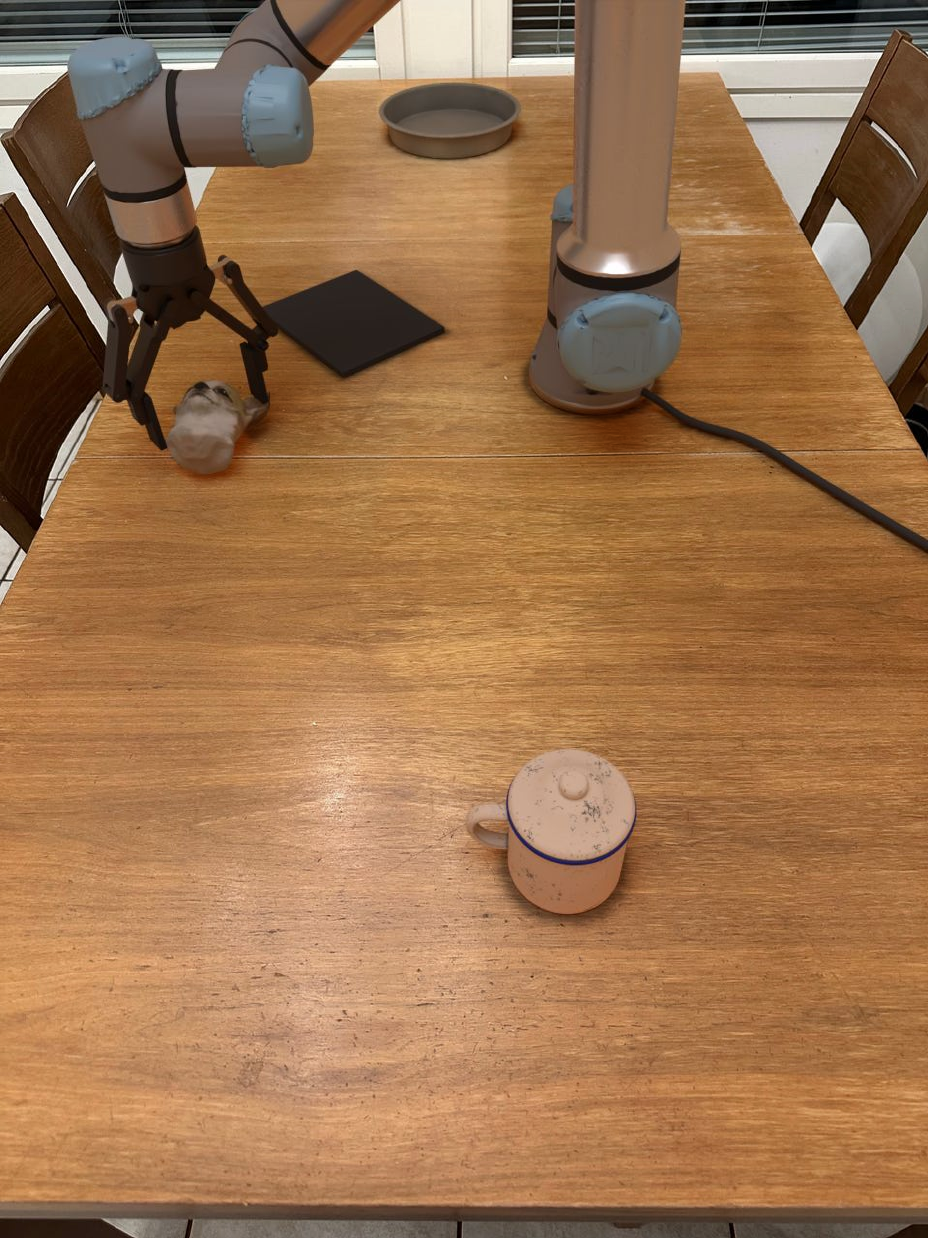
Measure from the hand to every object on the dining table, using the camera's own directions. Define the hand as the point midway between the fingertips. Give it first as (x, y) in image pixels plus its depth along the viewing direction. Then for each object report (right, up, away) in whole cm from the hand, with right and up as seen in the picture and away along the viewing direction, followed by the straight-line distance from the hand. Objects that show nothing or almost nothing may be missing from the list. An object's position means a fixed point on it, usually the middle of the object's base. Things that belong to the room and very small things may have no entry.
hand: (210, 420), depth 105 cm
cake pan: (+26, +63, +62) cm, 92 cm away
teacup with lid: (+34, -41, -32) cm, 62 cm away
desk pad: (+13, +17, +20) cm, 30 cm away
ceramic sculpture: (0, -2, +2) cm, 3 cm away
